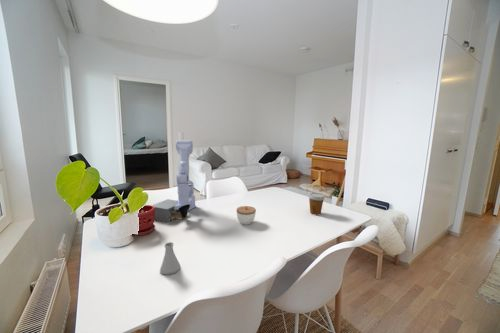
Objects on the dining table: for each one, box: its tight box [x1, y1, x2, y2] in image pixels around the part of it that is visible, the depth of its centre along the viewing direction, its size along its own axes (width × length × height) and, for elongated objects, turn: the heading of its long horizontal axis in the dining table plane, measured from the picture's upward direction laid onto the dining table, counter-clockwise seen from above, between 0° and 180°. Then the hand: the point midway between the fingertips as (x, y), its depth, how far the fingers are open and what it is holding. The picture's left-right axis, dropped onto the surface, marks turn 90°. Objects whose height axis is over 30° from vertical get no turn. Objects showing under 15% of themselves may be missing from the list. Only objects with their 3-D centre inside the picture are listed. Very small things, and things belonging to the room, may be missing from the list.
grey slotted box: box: [151, 198, 181, 223], centre depth 132 cm, size 14×12×8 cm
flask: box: [159, 241, 181, 276], centre depth 82 cm, size 7×7×10 cm
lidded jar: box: [236, 205, 256, 225], centre depth 124 cm, size 11×11×9 cm
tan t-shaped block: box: [169, 208, 184, 221], centre depth 131 cm, size 8×12×5 cm
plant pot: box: [137, 204, 156, 236], centre depth 111 cm, size 13×13×12 cm
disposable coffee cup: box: [308, 192, 325, 216], centre depth 139 cm, size 10×10×12 cm
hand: (184, 217), depth 128 cm, fingers closed
